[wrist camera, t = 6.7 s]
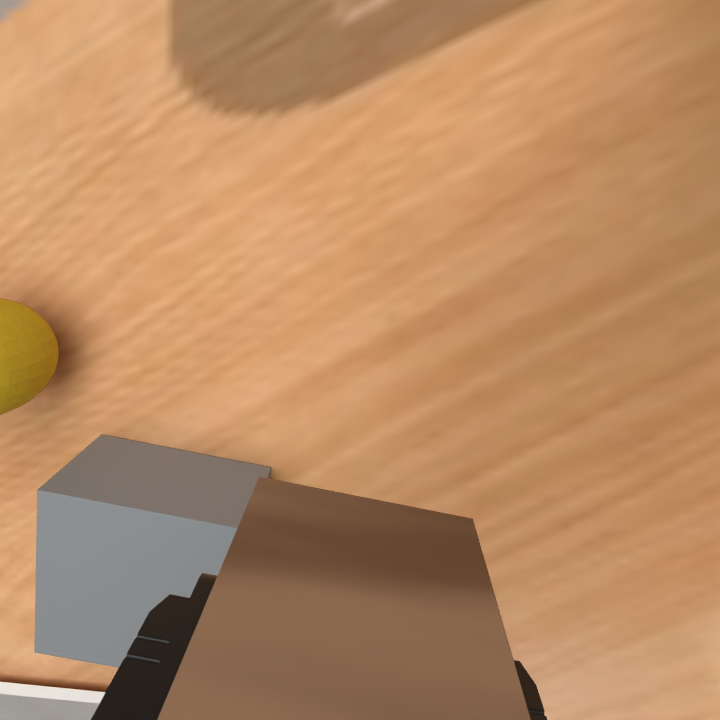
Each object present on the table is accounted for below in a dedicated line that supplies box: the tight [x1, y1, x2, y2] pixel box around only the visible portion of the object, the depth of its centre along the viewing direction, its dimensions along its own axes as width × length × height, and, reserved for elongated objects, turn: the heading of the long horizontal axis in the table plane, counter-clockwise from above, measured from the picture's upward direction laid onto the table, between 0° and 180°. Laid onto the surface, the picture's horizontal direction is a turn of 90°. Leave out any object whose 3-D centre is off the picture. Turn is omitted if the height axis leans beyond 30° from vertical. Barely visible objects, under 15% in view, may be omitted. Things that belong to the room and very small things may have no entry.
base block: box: [35, 435, 271, 668], centre depth 29 cm, size 10×10×6 cm
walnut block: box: [157, 477, 531, 720], centre depth 10 cm, size 5×5×6 cm
